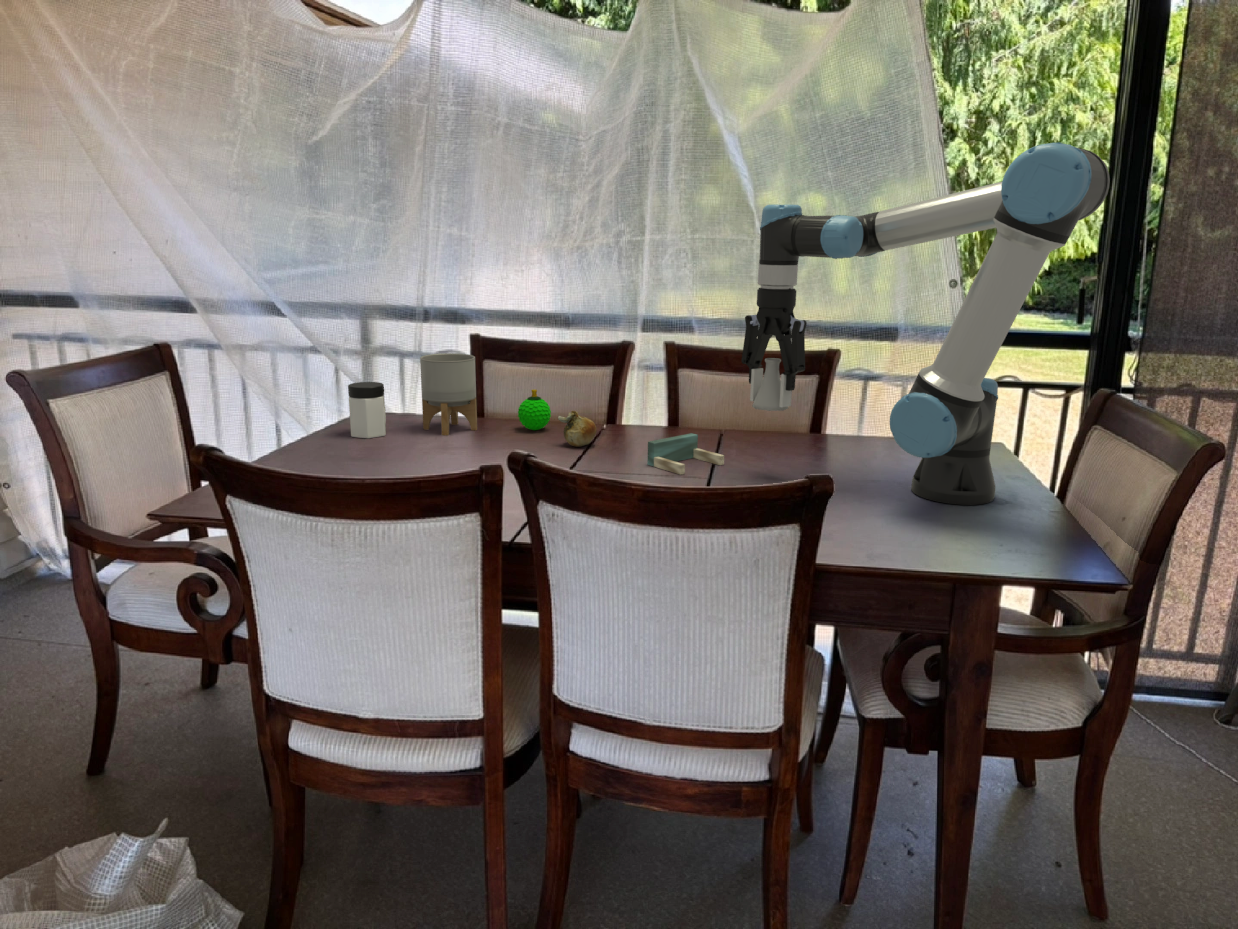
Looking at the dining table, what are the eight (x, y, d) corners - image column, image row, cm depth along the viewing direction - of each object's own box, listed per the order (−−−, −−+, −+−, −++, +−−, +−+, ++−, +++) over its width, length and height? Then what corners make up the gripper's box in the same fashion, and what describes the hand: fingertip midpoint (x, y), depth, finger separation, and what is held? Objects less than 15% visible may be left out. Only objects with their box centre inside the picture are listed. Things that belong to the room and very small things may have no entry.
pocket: (723, 464, 191) (725, 441, 190) (680, 474, 183) (681, 451, 182) (690, 455, 199) (691, 433, 197) (647, 464, 190) (647, 441, 189)
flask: (787, 413, 176) (791, 362, 174) (750, 411, 178) (753, 360, 175) (788, 406, 183) (791, 357, 180) (753, 404, 184) (755, 355, 182)
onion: (577, 451, 200) (577, 416, 198) (555, 444, 206) (555, 410, 204) (603, 446, 205) (603, 412, 203) (581, 440, 211) (581, 406, 209)
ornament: (522, 425, 225) (522, 386, 222) (554, 427, 224) (554, 387, 221) (514, 433, 217) (513, 392, 214) (547, 434, 216) (546, 393, 213)
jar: (386, 438, 210) (383, 387, 207) (349, 439, 208) (346, 388, 205) (387, 429, 218) (384, 380, 215) (352, 430, 217) (349, 381, 213)
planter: (472, 436, 213) (469, 361, 209) (417, 435, 213) (414, 360, 209) (481, 424, 226) (479, 353, 221) (429, 423, 226) (426, 352, 221)
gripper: (830, 289, 169) (822, 408, 175) (751, 283, 184) (745, 393, 190) (806, 291, 164) (797, 413, 170) (726, 284, 179) (721, 397, 185)
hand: (770, 403), depth 180 cm, fingers closed on flask, 7 cm apart
